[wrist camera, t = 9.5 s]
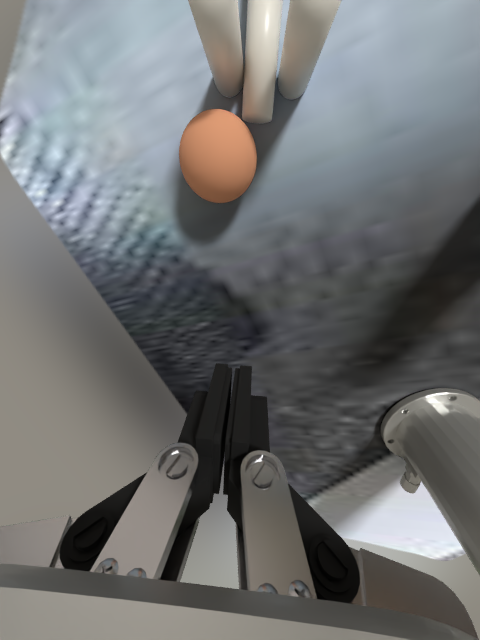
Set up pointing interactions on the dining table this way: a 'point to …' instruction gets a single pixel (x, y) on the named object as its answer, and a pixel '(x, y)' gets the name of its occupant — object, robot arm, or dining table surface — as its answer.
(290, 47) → the pin
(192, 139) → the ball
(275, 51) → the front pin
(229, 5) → the pin
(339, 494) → the dining table surface
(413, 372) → the dining table surface
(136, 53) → the dining table surface
